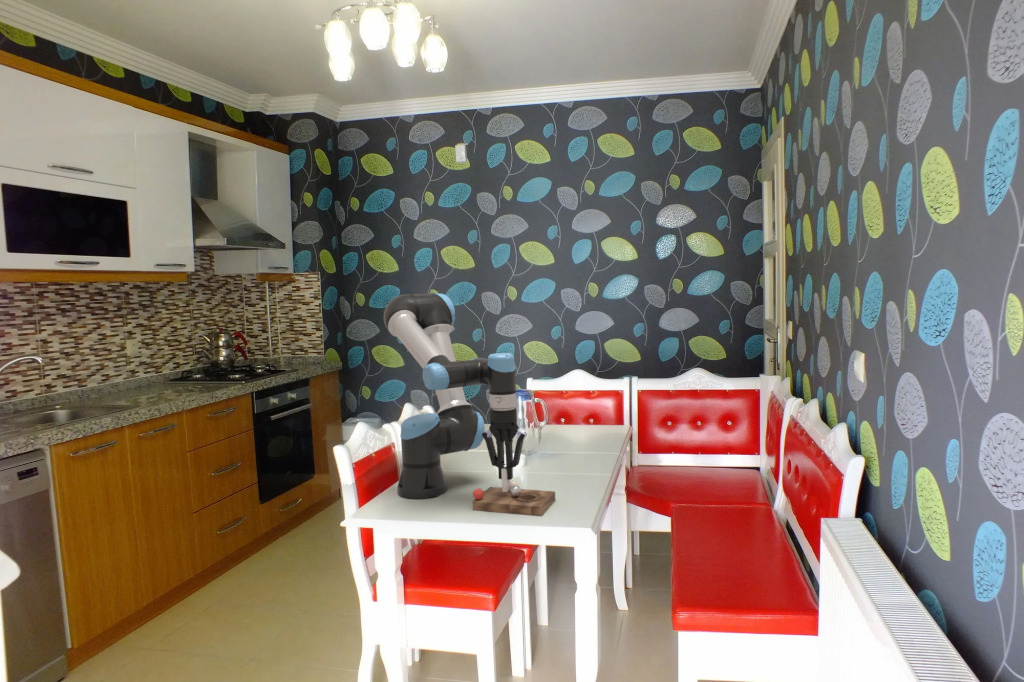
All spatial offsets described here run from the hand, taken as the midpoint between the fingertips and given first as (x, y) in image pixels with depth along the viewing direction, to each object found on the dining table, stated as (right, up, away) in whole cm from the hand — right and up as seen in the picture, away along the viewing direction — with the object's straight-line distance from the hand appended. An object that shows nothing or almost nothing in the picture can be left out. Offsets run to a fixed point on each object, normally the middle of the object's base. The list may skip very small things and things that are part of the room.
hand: (506, 490), depth 192 cm
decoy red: (-8, -1, -2) cm, 8 cm away
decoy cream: (+2, 0, +5) cm, 5 cm away
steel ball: (+3, 0, -1) cm, 3 cm away
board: (+2, -4, 0) cm, 5 cm away
